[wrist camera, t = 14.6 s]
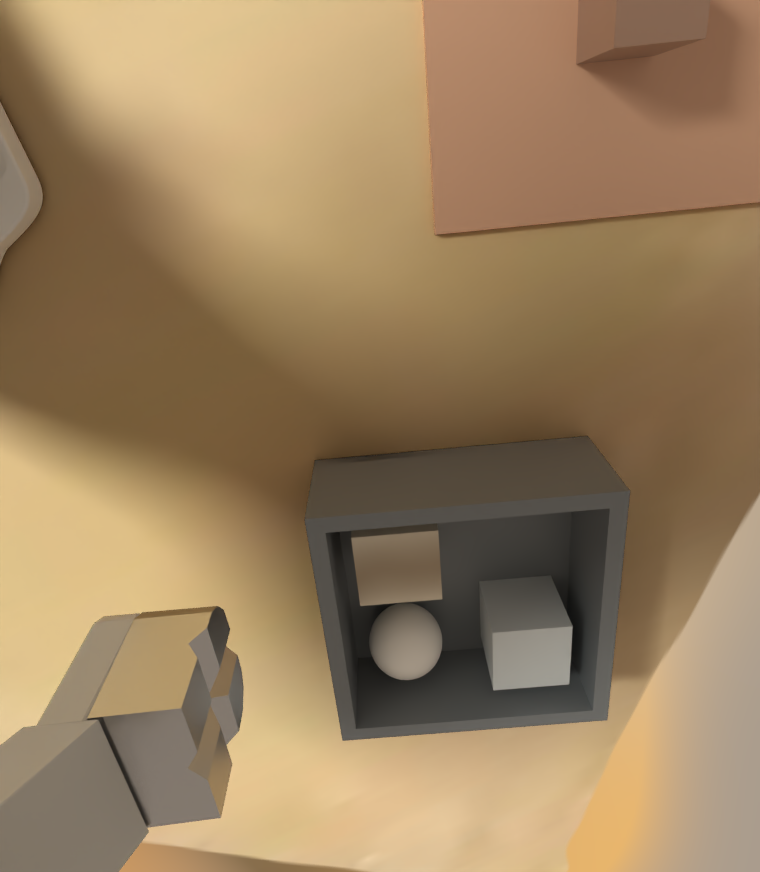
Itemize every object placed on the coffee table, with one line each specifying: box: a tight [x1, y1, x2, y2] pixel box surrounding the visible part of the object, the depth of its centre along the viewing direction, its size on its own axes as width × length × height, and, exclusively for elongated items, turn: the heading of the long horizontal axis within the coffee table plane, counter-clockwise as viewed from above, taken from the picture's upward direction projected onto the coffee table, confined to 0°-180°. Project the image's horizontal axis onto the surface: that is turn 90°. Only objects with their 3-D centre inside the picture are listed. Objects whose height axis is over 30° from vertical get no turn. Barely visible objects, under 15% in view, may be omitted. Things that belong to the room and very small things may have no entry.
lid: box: [422, 0, 760, 235], centre depth 21 cm, size 15×15×5 cm
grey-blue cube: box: [479, 575, 573, 690], centre depth 33 cm, size 4×4×4 cm
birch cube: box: [351, 523, 442, 606], centre depth 30 cm, size 4×4×4 cm
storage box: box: [305, 436, 630, 741], centre depth 31 cm, size 14×14×6 cm
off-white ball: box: [369, 603, 442, 680], centre depth 33 cm, size 4×4×4 cm
